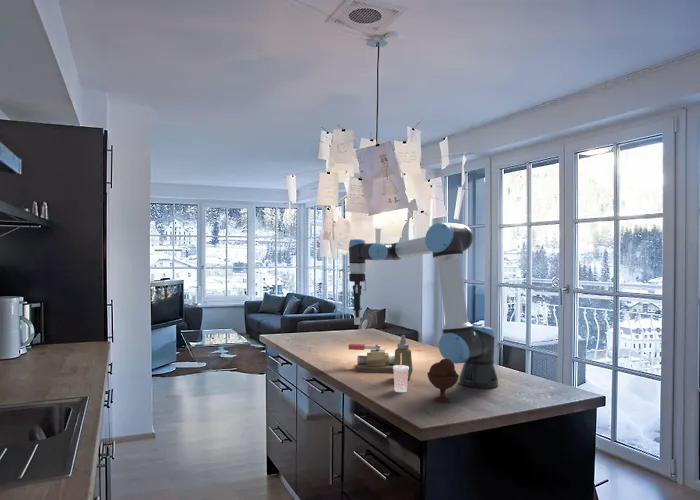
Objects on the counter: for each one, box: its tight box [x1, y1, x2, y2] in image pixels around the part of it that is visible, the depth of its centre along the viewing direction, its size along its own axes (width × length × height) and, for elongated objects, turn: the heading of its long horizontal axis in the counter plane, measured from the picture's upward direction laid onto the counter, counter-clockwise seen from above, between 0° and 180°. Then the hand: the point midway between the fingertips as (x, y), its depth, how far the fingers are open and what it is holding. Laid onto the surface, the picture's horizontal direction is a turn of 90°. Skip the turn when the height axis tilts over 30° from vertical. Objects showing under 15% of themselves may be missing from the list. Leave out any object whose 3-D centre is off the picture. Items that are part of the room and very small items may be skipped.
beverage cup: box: [393, 353, 409, 393], centre depth 194 cm, size 6×6×14 cm
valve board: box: [356, 349, 395, 374], centre depth 230 cm, size 14×18×8 cm
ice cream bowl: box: [426, 358, 460, 404], centre depth 182 cm, size 11×11×15 cm
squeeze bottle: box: [393, 334, 413, 380], centre depth 212 cm, size 8×8×18 cm
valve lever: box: [348, 343, 381, 351], centre depth 230 cm, size 14×3×2 cm, turn 82°
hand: (357, 324), depth 236 cm, fingers closed
